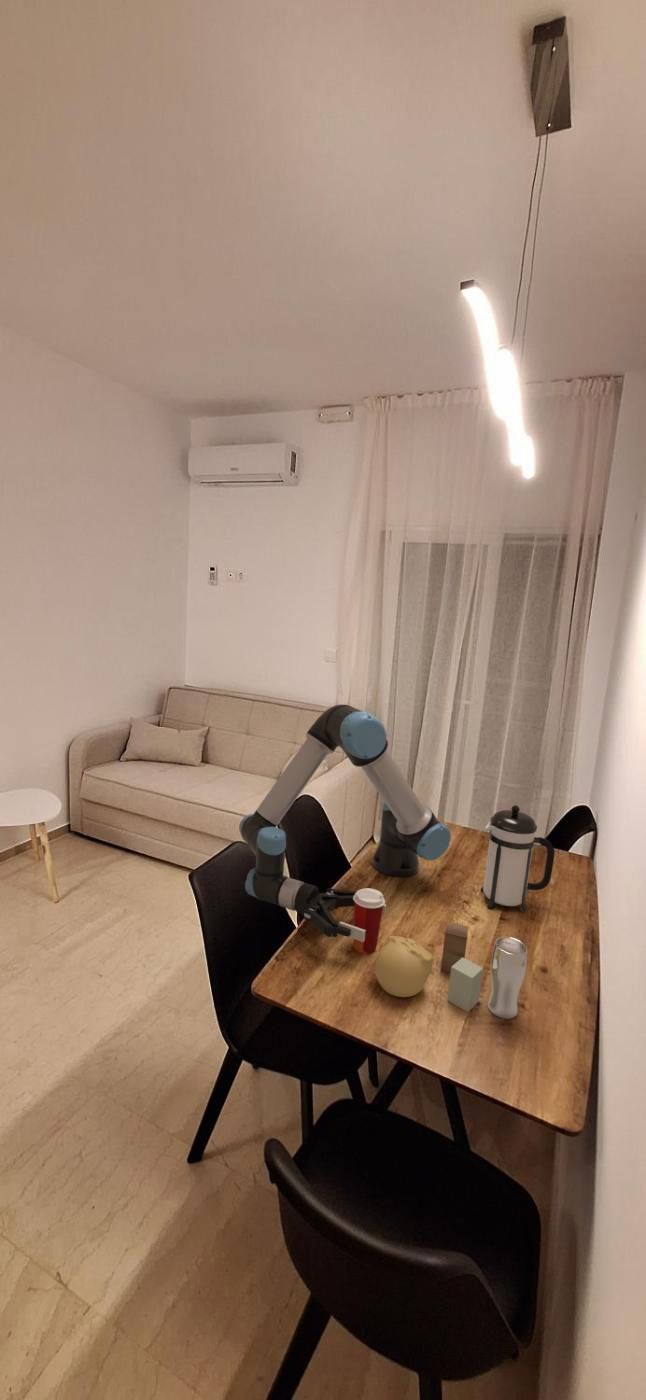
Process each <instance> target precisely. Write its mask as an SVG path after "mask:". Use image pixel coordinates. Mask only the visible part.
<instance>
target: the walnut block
mask: <svg viewBox="0 0 646 1400" xmlns="http://www.w3.org/2000/svg"><path fill="white" fill-rule="evenodd" d="M468 931H469V926H466V925H462V924H458V923H454V922H448V921H447V922H446V925H445V932H444V939H443V948H442V957H441V965H440V973H445V974H448V975H450V973H451V967H452V966H453V965H454V964H455V963H456V962H458V961H459V960H460V959H461V958H462V957H463V958H465V957H466V950H467V943H468V935H469V934H468ZM465 959H466V958H465Z"/></svg>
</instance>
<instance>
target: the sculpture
mask: <svg viewBox="0 0 646 1400" xmlns="http://www.w3.org/2000/svg"><path fill="white" fill-rule="evenodd" d="M434 960H435V959H434V956H433V954H431V953H430V952H429V951H427V949H424V948H423V946H421V945H420V944H418V942H417V941H416V940H414V939H412V937H411V938H409V937H408V938H405V937H403V936H396V935H389V936H388V940H387V943H386V944H385V945H384V946H383V947H382V948H381V949H380V951H379V952H378V954H377V956H376V960H375V965H374V967H375V969H374V970H375V976H376V978H377V982H378V983H379V985H380V986H381V988H382V990H384V991H385V992H387V994H389V995H391V996H394V997H399V998H407V997H408V998H409V997H413V996H415V995H417V994H418V993H420V992H421V991H422V989H424V987H425V985H426V983H427V981H428V979H429V977H430V975H431V974H432V970H433V963H434Z"/></svg>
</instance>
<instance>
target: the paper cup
mask: <svg viewBox="0 0 646 1400" xmlns="http://www.w3.org/2000/svg"><path fill="white" fill-rule="evenodd" d="M356 891H357V892H356V893H355V895H354V896H353V900H354V901H355V906H354V911H353V912H354V913H353V915H354V919H353V926H355V927H358V928H361V929H364V930H366V931H365V941H364V942H361V941H358V940H356V939H353V948H354V950H355V951H356V952H358V953H360V954H363V955H365V954H366V955H368V954H369V955H370V954H372V953H375V952H376V950H377V945H378V939H379V933H380V927H381V923H382V916H383V915H382V911H383V905H384V904H385V903H386V900H385V898H384V895H383V893H382V892H381V891H379V890H377V889H375V888H370V887H369V888H368V887H367V888H361V889H358V890H356ZM385 905H386V904H385Z"/></svg>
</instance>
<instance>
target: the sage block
mask: <svg viewBox="0 0 646 1400" xmlns="http://www.w3.org/2000/svg"><path fill="white" fill-rule="evenodd" d="M483 973H484V968H483V966H480V965H478V964H477V963H475V962H473V961H470V960H469V959H466V958H463V957H462V958H461V959H460V960H459V961H458V962H456V963H455V964H454V965H453V966H452V967H451V973H450V974H449V981H448V991H447V1000H446V1001H448V1002H450V1003H452V1004H453V1005H455V1006H457V1007H458V1008H460V1009H461V1010H463V1011H465V1012H467V1013H469V1012H470V1011H471V1010H472V1009H473V1008H474V1007H475V1005H477V1004H478V1003H479V1001H480V998H481V997H480V995H481V990H482V989H481V986H482V983H483V982H482V980H483Z"/></svg>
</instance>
